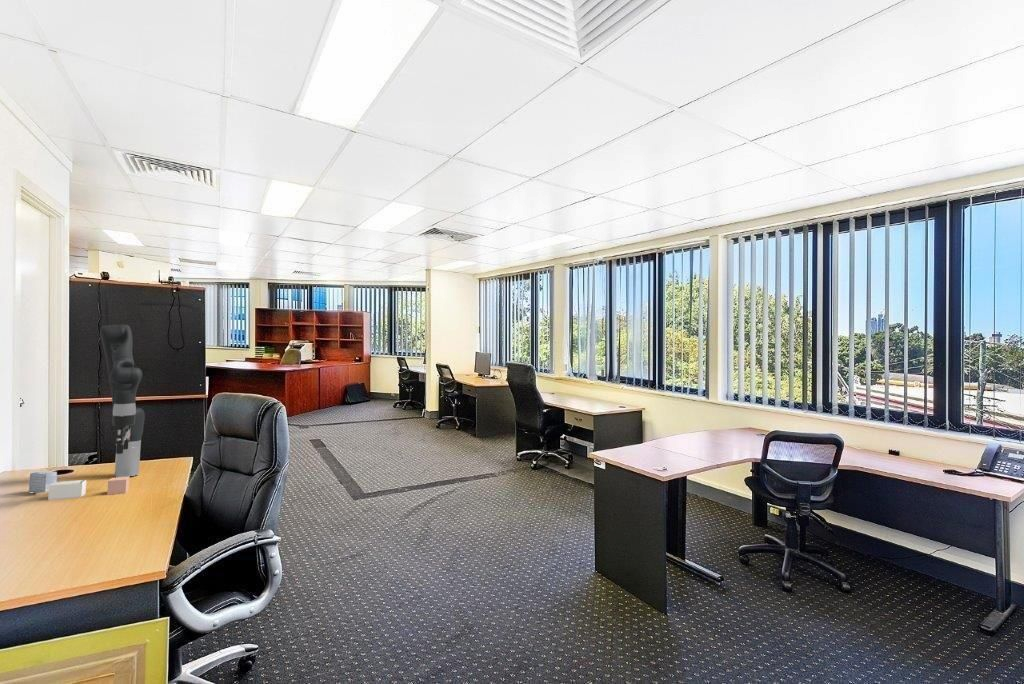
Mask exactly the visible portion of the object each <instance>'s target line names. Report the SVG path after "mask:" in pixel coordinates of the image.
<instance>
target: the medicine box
mask: <svg viewBox="0 0 1024 684" xmlns="http://www.w3.org/2000/svg"><path fill="white" fill-rule="evenodd" d="M57 477H58V471H51V470H49V471H48V470H40V471H39V470H38V471H35V472H34V471H33V472H31V473H30V475H29V483H28V484H29V485H28V486H29V487H28V488H29V489H28V493H29V492H33V493H38V494H39V493H41V492H42V493H46V492H49V485H50V484H52V483H54V482H58V478H57Z"/></svg>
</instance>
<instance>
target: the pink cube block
mask: <svg viewBox="0 0 1024 684" xmlns="http://www.w3.org/2000/svg"><path fill="white" fill-rule="evenodd" d="M129 484H130V477H117V478H115V477H111V478H110V479H108V480H107V493H106V494H107V496H109V495H121V494H126V493H127V492H128V491H129V486H130V485H129Z"/></svg>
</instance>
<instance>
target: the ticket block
mask: <svg viewBox="0 0 1024 684" xmlns="http://www.w3.org/2000/svg"><path fill="white" fill-rule="evenodd" d="M86 490H87V479H78V480H64V481H57V482H54V483H52V484H50V485H49V491H48V495H47V497H48V498H47V500H48V501H53V500H64V499H74V498H82V497H84V495H86V492H87V491H86Z"/></svg>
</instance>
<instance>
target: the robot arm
mask: <svg viewBox="0 0 1024 684" xmlns="http://www.w3.org/2000/svg"><path fill="white" fill-rule="evenodd" d="M99 334H100V339H101V343H102V346H103V347H102V348H103V351H104V352H103V353H104V356H105V361H106V367H107V376H108V381H109V387H110V393H111V403H112V418H111V419H112V421H111V425H112V426H114V427H118V429H116V430H115V432H114V435H115V437H114V445H115V446H116V448H115V461H114V462H115V463H114V474H113V475H114V476H115V477H129V478H131V477H130V476H134V477H136V476H135V475H137V476H139V475H138V474H140V464H141V463H140V462H141V461H140V460H141V459H140V458H141V447H142V446H141V444H142V436H143V433H144V425H145V418H146V417H145V416H146V415H145V410H143V408H141V407H137V406H136V399H137V397H136V396H137V390H138V387H139V385H140V382H141V381H142V377H143V371H142V370H141V368H139V367H135V361H134V356H133V346H134V345H133V344H134V343H133V342H134V341H133V333H132V329H131V327H130V325H128V324H112V325H111V324H110V325H102V326H101V327H100V329H99ZM117 345H120V346H118V347H117V348H116V350H115V349H114V348H113V346H117ZM115 477H114V478H115Z"/></svg>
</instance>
